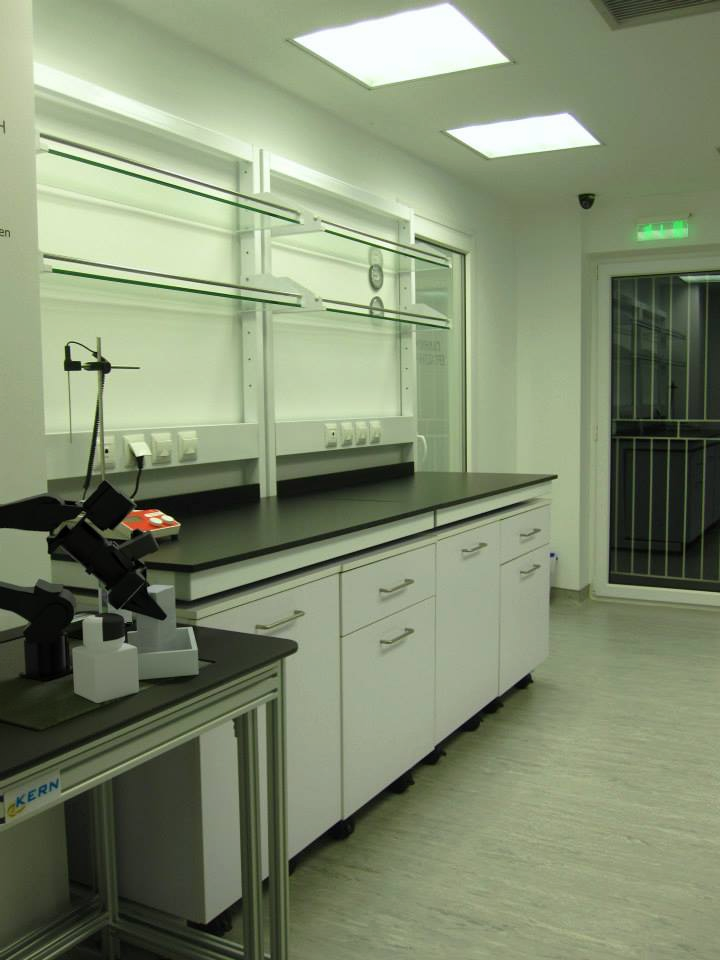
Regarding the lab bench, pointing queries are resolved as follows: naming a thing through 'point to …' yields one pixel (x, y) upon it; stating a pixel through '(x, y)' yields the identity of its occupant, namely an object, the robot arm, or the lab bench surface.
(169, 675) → the open box
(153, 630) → the skincare box
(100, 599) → the syrup box
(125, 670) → the medicine bottle
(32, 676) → the robot arm
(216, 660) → the lab bench surface
